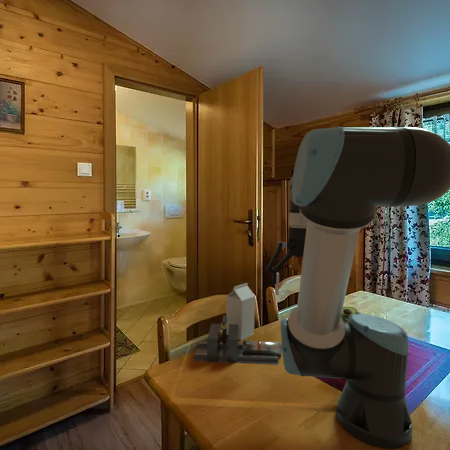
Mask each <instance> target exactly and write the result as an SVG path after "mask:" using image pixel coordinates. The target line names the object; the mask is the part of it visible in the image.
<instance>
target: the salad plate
mask: <svg viewBox="0 0 450 450" xmlns="http://www.w3.org/2000/svg"><path fill="white" fill-rule="evenodd" d="M359 313H360V314H363V313H361V312H359V311H358V310H357V309H356V308H355V307H352V306H343V308H342V312H341V317H340V318H341V319H342V321H343V322H349V318H350V316H351V315H353V314H359Z"/></svg>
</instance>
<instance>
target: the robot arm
mask: <svg viewBox="0 0 450 450" xmlns="http://www.w3.org/2000/svg"><path fill="white" fill-rule="evenodd" d="M292 174H293V175H292V177H291V178H290V179H289V180H290V181H289V211H288V212H289V213H288V226H289V227H288V232H287V236H288V237H287V238H288V239H287V242H283V241H278V242H277V246H276V249H275V251H274V253H273V255H272V257H271V259H270V260H269V263H268V265H267V266H266V271H267V272H270V273H271V274H272V275H271V282H272V284H273V285H275V288H274V289H275V290H274V291H275V292H274V293H275V296H279V294H280V293H279V291H280V289H279V288H280V273H279V271H280V270H282V268H283V267H284V266H285V265H286V264H287V262H288V261H289V260H290V259H291V258H293V257H295V258H300V257H301V258H302V263H301V264H302V265H301V273H300V280H299V290H298V298H297V306H296V307H295V308H293V309H292V311H291V312H290V313H289V315H288V318H284V319H281V320H280V335H281V337H280V338H281V342H282V350H283V352H282V359H283V367H284V370H285V371H286V372H287V374H290V375H295V376H300V377H315V378H327V379H328V378H332V379H346V382H345V384H344V387H343V388H342V392H341V393H340V396H339V398H338V399H337V403H336V418H337V421H338V423H339V424H340V425H341V427H342V428H343V429H344V430H345V431H346V432H347V433H348V434H349V435H351V436H352V437H354V438H355V439H357V440H359V441H361V442H363V443H366V444H368V445H371V446H373V447H378V448H383V449H398V448H401V447H404V446H406V445H407V444H409V443H410V442H411V439H412V437H413V421H412V417H411V415H410V410H409V407H408V404H407V399H406V384H407V373H408V362H409V354H410V351H409V336H408V334H407V332H406V331H405V329H404V328H403V327H401V326H400V325H398V324H397V323H395V322H393V321H391V320H388V319H387V318H383V317H381V316H379V315H378V316H377V315H373V314H370V313H369V314H368V313H362V314H360V313H361V312H359V314H353V315H351V316H350V318H349V322H343V321H342V319H341V318H340V317H341V312H342V308H343V307H344V304H345V298H346V296H347V289H348V286H349V282H350V276H351V271H352V267H353V263H354V259H355V255H356V250H357V245H358V242H359V237H360V232H361V229H363V228H366V227H368V226H370V225H371V223H372V222H373V220H374V218H375V214H376V209H377V208H380V207H381V208H384V207H385V208H386V207H387V208H390V207H391V208H392V207H393V208H395V207H402V208H403V207H414V206H421V205H425V204H428V203H431V202H434V201H436V200H438V199H439V198H441V197H443V196H444V195H445V194H446V193H447V192H448V191H450V143H449V142H448V141H447V140H446V139H445V138H443V137H442V136H441V135H439V134H438V133H436V132H433V131H431V130H429V129H425V128H421V127H420V128H419V127H412V126H401V127H393V126H392V127H345V126H343V127H341V126H340V125H338V126H334V127H330V128H316V129H315V128H314V129H313V130H310V131H308V132H307V133H306V134H305V135H304V137H303V139H302V140H301V143H300V145H299V148H298V151H297V156H296V159H295V163H294V168H293V173H292ZM285 248H287V250H288V251H287V252H286V253H285V255H284V256H283V257H282V259H281V260H279V261H278V263H277V264H275V263H276V262H277V260H278V259H279V256H280V255H281V252H282V251H283V250H284V249H285ZM274 265H275V266H274Z"/></svg>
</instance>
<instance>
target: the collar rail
mask: <svg viewBox="0 0 450 450" xmlns="http://www.w3.org/2000/svg"><path fill="white" fill-rule="evenodd" d="M238 328H239V325H237V324H229V332H228V335H227V315H226V314H224V315H223V316H222V322H221V323H210V327H209V331H208V334H207V335H208V336H207V339H206V341H198V342H197V348H196V351H195V352H194V356H193V357H194V358H193V362H206V363H207V362H208V363H209V362H210V363H230V364H255V365H272V366H273V365H275V366H276V365H277V366H279V364H280V363H279V356H278V354H255V353H243V342H242V343H239V339H238ZM221 330H222V342H221Z"/></svg>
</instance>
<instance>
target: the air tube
mask: <svg viewBox="0 0 450 450" xmlns="http://www.w3.org/2000/svg"><path fill="white" fill-rule="evenodd" d="M242 344H243V353H255V354H277V355H279V356H280V355H282V356H283V350H282V341H266V340H265V341H263V340H262V341H261V340H242Z"/></svg>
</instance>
